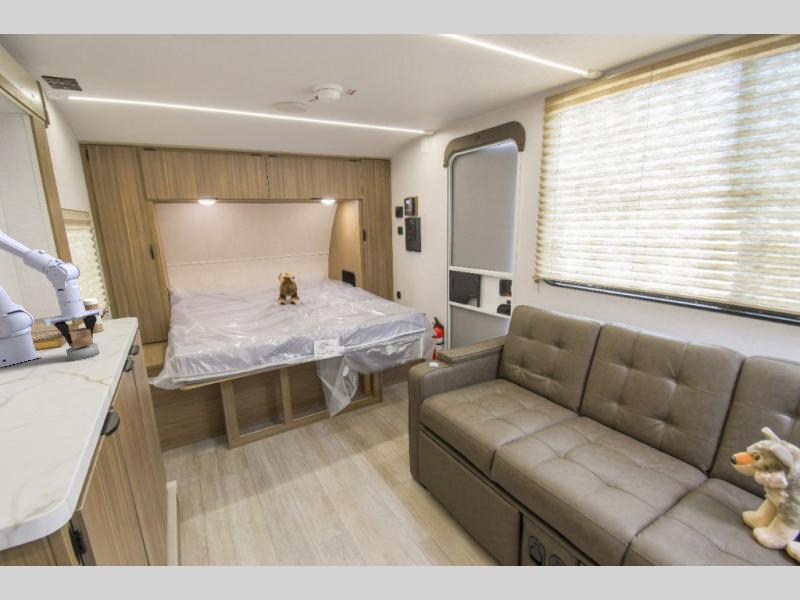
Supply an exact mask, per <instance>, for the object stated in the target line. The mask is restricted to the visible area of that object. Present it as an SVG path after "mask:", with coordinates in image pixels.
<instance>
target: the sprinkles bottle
mask: <svg viewBox="0 0 800 600" xmlns="http://www.w3.org/2000/svg"><path fill="white" fill-rule="evenodd" d="M82 302H83V306H84V310H85V311H87V310H95V309H100V308H99V303H98V299H97V298H95V297H93V298H86V299H82ZM95 317H97V321H96V323H95V326H94V329H93V334H96V332H97V333H100V331H101V332H103V331H104V326H103V320H102V315H97V316H95Z"/></svg>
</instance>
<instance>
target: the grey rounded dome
mask: <svg viewBox="0 0 800 600" xmlns="http://www.w3.org/2000/svg"><path fill="white" fill-rule="evenodd" d="M65 352H66V355H67V356H66V357H67V360H68V359H69V360H68V361H70V360H77V361H82V360H81V359H84V360H87V358H88V359H90V357H91V358H93V357H97V356H98V355H99V354H100V349H99V346H98V343H95V342H93V344H91V345H87V346H83V347H79V348H75V349H74V348H72V347H69V348H67V349H66V351H65Z"/></svg>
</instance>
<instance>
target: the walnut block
mask: <svg viewBox="0 0 800 600" xmlns="http://www.w3.org/2000/svg"><path fill="white" fill-rule="evenodd" d="M69 333H70V337H71V341H72V344H68V347H69V348H71V347H72V348H74V349H75V348H79V347H83V346H87V345H91V344H93V343H94V341H93V339H92V336H91V332H90V329H87V328H86V327H80V328H76V329H71V330H70V329H69Z"/></svg>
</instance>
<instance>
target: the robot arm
mask: <svg viewBox="0 0 800 600" xmlns="http://www.w3.org/2000/svg"><path fill="white" fill-rule="evenodd" d="M0 250H3V251H5V252H7V253H9V254H11V255H13V256H16V257H19V258H21V259H22V260H23V264H24V265H26V266H27V267H30V268H31V269H33V270H36V271H38V272H40V273H42V274H43V275H45V277H46V279H47V280H48V281H49V282H50V283H51V284H52V288H54V291H55V294H56V298H57V301H58V306H59V311H60V315H57V316H53V317H48V318H43V319H42V321H43V324H44V326H46V327H48V326H49V327H50V326H52V325H53V326H54V327H55V328H56V329H57V330H58V331H59V332H60V333H61V334H62V336H63V338H64V339H65V340H66V343H67V344H68V345H69V344H72V341H71V337H70V333H69V331H70V326H69V324H67V322H71V321H76V320H80V319H82V321H83V324H84V326H85V328H87V329H90V332H91V336H92V340H93V339H94V333H93V329H94V326H95V323H96V321H97V317H95V316H97V315H101V316H103V315H104V314H103V309H102V308H99V309H95V310H87V311H85V307H84V305H83V298H82V294H81V291H80V286H79V281H78V279H79V278H80V276H81V270H80V268H79V267H78V265H76V264H74V262H64V261H63V260H61V259H60V258H58V259H57V258H56V257H54V256H52V255H50V254H48V252H47V251H46V250H44V249H31V248H29V247H27V246H25V245H24V244H22V243H21V242H19V241H18V240H15V239H14V238H13V237H10V236H8V235H7V234H5V233H4V232H3V230H2V229H1V228H0ZM34 324H35V319H34V317H33V315H32V314H31V313H29V312H28V311H27V310H26V309H25V308H24V307H23V305H20V304H17V303H15V302H13V301H12V300H11V298H10V297H9V295H8V293H7V292H6V291H5V289H4V287H3V286H2V284H1V283H0V368H1V367H3V368H5V367H4V366H7V367H10V366H9V365H11V366H14V365H13V364H15V365H18V364H17V363H19V364H21V363H20V362H23V363H25V362H24V361H27V362H29V361H28V360H31V361H34V360H33V359H35V360H37V359H36V358H39V359H41V358H42V356H41V355H40V354H38V353H37V351H36V347H35V343H34V340H33V337H32V332H31V331H32V327H33V326H34Z"/></svg>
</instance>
